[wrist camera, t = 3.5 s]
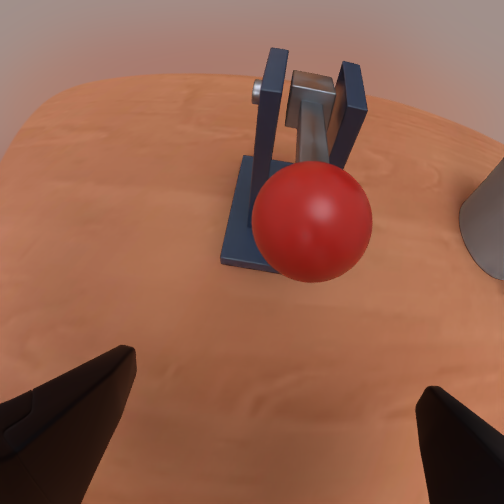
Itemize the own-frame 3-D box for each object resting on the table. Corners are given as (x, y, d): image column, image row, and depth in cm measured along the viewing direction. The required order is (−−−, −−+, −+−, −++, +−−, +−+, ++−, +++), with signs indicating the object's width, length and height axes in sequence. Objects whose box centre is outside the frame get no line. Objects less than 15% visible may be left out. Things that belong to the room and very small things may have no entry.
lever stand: (325, 281, 24) (406, 162, 12) (220, 264, 24) (212, 124, 12) (329, 178, 29) (378, 50, 16) (242, 163, 29) (251, 25, 16)
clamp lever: (352, 312, 10) (402, 233, 7) (238, 295, 10) (249, 205, 7) (333, 124, 18) (346, 70, 15) (273, 113, 18) (281, 57, 15)
